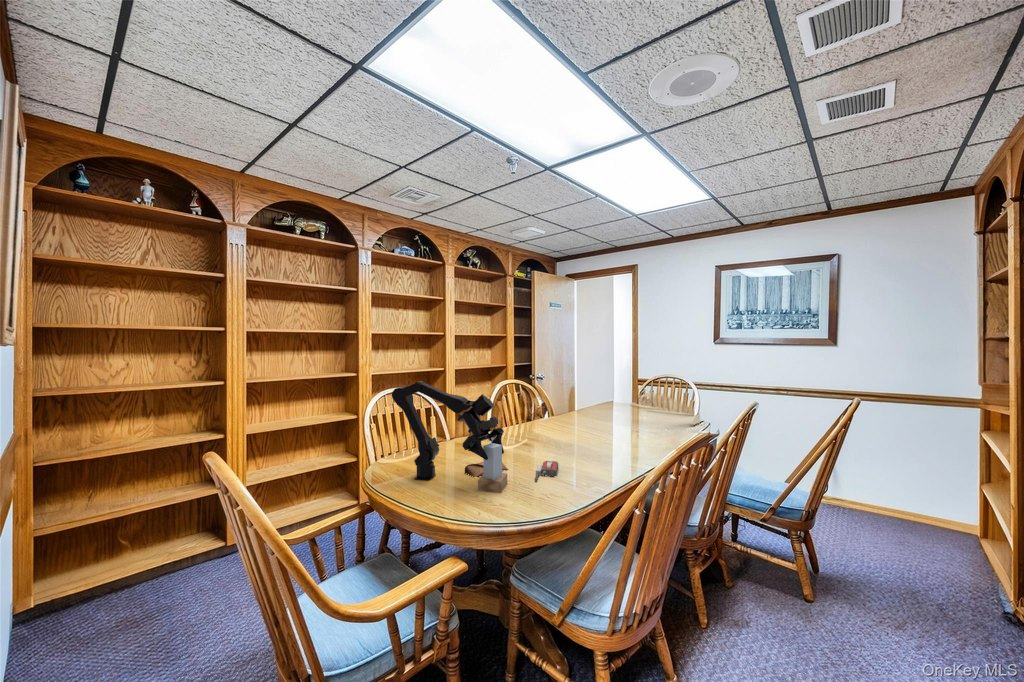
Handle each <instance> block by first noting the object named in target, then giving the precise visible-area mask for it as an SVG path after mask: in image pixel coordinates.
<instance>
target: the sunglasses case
mask: <svg viewBox="0 0 1024 682" xmlns="http://www.w3.org/2000/svg"><path fill="white" fill-rule="evenodd" d="M508 469H509V468H507V467H506V465H505V464H504V463H503V462H502V470H505V471H508ZM466 473H467V474H466ZM464 474H466V475H468V474H469V475H468V476H470V475H471V476H470V477H472V476H473V477H472V478H474V477H478V478H480V477H479V476H482V475H483V474H484V461H481V462H476V463H471V464H467V465H465V467H464Z"/></svg>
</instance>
